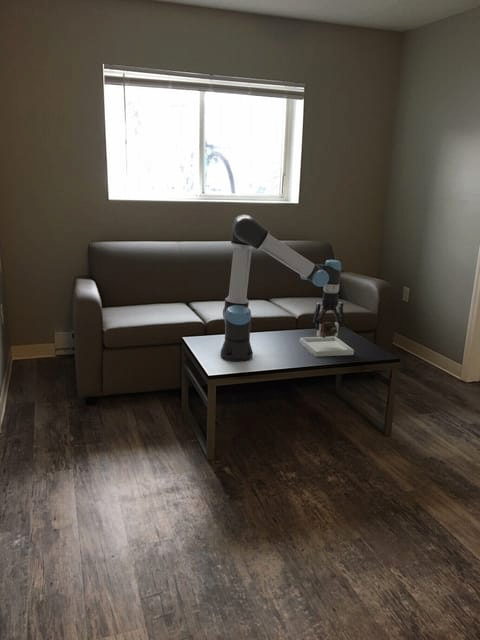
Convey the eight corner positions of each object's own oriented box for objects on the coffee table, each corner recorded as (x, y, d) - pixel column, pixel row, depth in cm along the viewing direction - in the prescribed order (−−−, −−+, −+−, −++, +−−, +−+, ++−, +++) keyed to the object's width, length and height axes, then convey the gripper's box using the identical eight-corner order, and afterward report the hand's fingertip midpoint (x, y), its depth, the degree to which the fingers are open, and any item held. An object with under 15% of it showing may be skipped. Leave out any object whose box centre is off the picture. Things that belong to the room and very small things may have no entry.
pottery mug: (339, 335, 260) (341, 324, 254) (330, 347, 255) (332, 336, 249) (318, 325, 265) (320, 314, 259) (309, 337, 260) (311, 326, 254)
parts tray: (315, 356, 247) (315, 351, 246) (299, 342, 267) (299, 337, 266) (353, 354, 252) (354, 350, 251) (334, 340, 272) (335, 336, 271)
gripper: (313, 293, 245) (309, 338, 251) (354, 293, 251) (349, 337, 257) (307, 290, 252) (304, 334, 258) (347, 289, 258) (343, 332, 264)
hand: (327, 335), depth 257 cm, fingers closed on pottery mug, 9 cm apart
